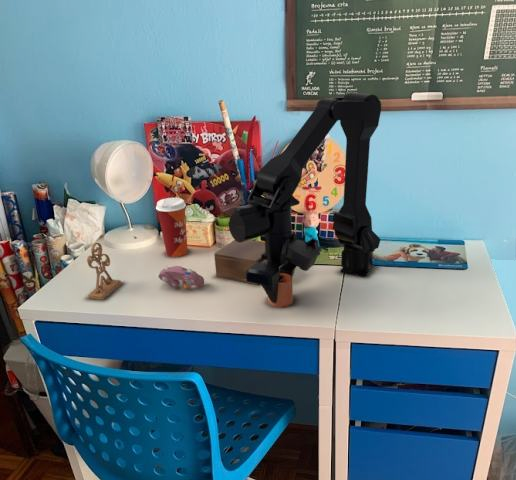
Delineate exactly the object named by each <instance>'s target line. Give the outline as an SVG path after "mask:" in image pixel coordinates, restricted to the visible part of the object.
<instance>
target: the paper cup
mask: <svg viewBox="0 0 516 480" xmlns="http://www.w3.org/2000/svg"><path fill="white" fill-rule="evenodd" d="M186 206H187V204H186V202H185V201H184V199H183V198H180V197H167V198H162V199H160V200H158V201H157V202H156V205H155V210H157V214H158V219H159V224H160V229H161V234H162V239H163V244H164V249H165V252H166V255H167V256H168V257H172V258H177V257H183V256H185V255H187V254H188V236H187V235H188V232H187V219H186Z"/></svg>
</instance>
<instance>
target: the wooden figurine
mask: <svg viewBox="0 0 516 480" xmlns="http://www.w3.org/2000/svg"><path fill="white" fill-rule="evenodd" d="M90 252H91V255H88V256H87V258H86V262H87V265H88V267H89V268H90V269H95V273H96V282H95V289H93V290H92V291H91V292H90V293H89V294H88V299H89V300H97V301H105V299H106V298H107V297H108V296H110V295H111V294H112V293H114V291H116V289H118V288H119V287H120V286H121V285H122V282H121V280H120V279H113V278H112V276H110V273H108V271H107V268H106V267H109V266H111V259H110V256H109V255H108V254H106V253H103V246H102V244H101V243H100V242H93V244H92V245H91V250H90ZM103 256H104V257H105V259H104V260H103ZM93 262H95V263H97V265H95V266H93V265H92V264H93ZM103 273H104V274H105V276H106V278H105V276H104V275H101V274H103Z"/></svg>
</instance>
